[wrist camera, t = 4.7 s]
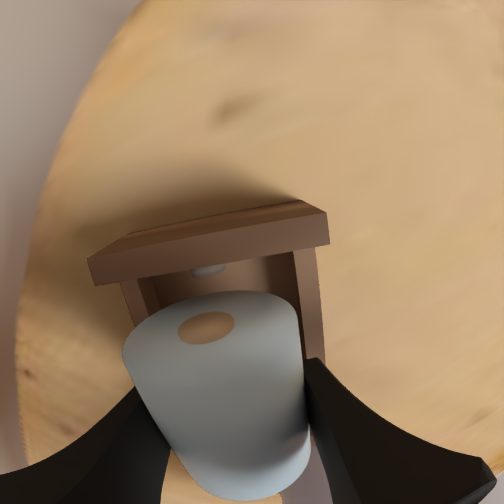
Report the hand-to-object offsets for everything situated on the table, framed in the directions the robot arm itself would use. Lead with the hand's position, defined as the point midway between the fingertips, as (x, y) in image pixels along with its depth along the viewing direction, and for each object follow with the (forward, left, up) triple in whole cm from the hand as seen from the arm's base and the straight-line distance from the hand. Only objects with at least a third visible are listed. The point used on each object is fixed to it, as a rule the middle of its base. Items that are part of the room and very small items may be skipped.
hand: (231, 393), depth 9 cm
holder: (0, 0, -5) cm, 5 cm away
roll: (0, 0, -2) cm, 2 cm away
